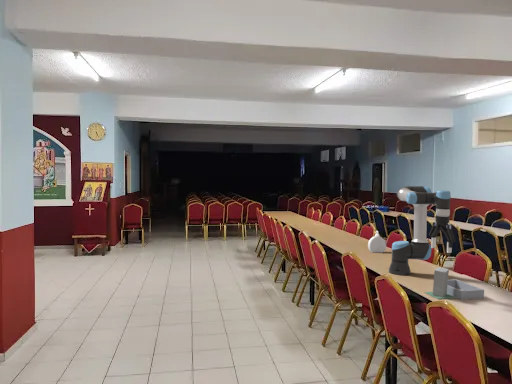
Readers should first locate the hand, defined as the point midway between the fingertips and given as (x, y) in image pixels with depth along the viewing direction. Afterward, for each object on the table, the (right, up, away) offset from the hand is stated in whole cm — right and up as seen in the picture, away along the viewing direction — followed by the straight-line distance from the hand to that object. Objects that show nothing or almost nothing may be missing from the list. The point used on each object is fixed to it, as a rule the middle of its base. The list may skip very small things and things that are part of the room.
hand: (441, 250), depth 223 cm
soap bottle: (+1, -21, +122) cm, 124 cm away
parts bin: (+12, -27, +3) cm, 30 cm away
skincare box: (-2, -27, -3) cm, 27 cm away
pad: (-2, -27, -2) cm, 27 cm away
